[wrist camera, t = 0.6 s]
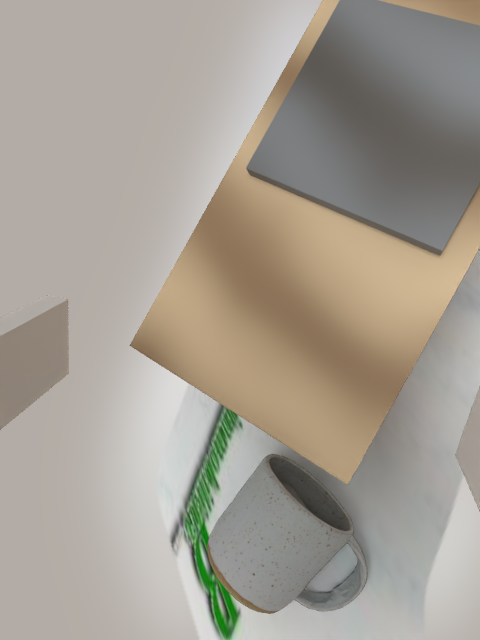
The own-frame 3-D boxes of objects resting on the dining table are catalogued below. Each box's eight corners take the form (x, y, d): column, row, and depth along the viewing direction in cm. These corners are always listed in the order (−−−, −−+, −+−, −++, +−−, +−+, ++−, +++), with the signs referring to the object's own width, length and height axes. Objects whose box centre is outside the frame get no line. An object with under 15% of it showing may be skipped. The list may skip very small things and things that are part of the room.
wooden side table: (400, 112, 38) (424, -197, 18) (523, 153, 35) (713, -171, 15) (255, 372, 38) (121, 343, 18) (364, 437, 35) (346, 488, 15)
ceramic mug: (218, 525, 37) (181, 558, 30) (279, 446, 37) (257, 459, 29) (324, 629, 34) (312, 694, 27) (392, 542, 33) (398, 584, 26)
